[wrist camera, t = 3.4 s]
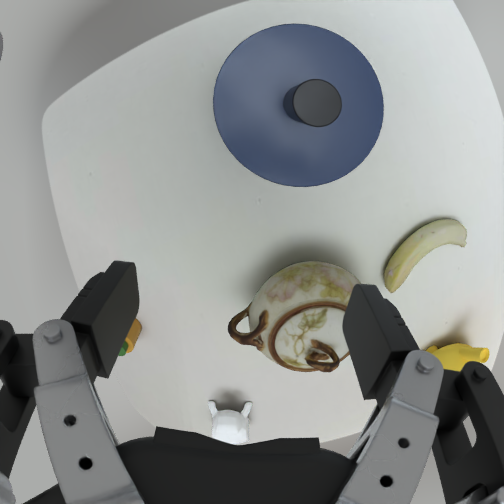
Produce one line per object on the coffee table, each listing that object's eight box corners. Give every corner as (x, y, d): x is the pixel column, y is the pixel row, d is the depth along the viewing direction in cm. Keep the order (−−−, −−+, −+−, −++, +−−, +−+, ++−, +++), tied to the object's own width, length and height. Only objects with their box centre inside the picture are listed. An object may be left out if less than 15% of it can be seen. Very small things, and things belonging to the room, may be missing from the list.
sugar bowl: (382, 247, 39) (432, 315, 25) (354, 331, 45) (381, 406, 32) (235, 234, 38) (226, 308, 25) (229, 325, 45) (222, 408, 31)
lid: (203, 167, 21) (185, 190, 16) (231, 15, 16) (223, -17, 11) (356, 197, 22) (387, 228, 17) (389, 55, 17) (432, 44, 12)
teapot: (430, 315, 44) (466, 373, 32) (487, 311, 45) (522, 357, 33) (392, 389, 54) (411, 442, 41) (447, 380, 54) (469, 425, 42)
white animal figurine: (252, 410, 60) (252, 394, 49) (251, 446, 55) (251, 440, 43) (213, 409, 60) (203, 392, 49) (211, 444, 55) (200, 437, 43)
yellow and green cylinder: (119, 331, 46) (107, 356, 41) (117, 313, 44) (104, 338, 39) (142, 336, 46) (131, 362, 41) (141, 318, 44) (129, 344, 39)
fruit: (370, 248, 39) (379, 260, 36) (457, 202, 35) (470, 210, 32) (384, 286, 42) (392, 299, 39) (464, 242, 38) (475, 252, 35)
